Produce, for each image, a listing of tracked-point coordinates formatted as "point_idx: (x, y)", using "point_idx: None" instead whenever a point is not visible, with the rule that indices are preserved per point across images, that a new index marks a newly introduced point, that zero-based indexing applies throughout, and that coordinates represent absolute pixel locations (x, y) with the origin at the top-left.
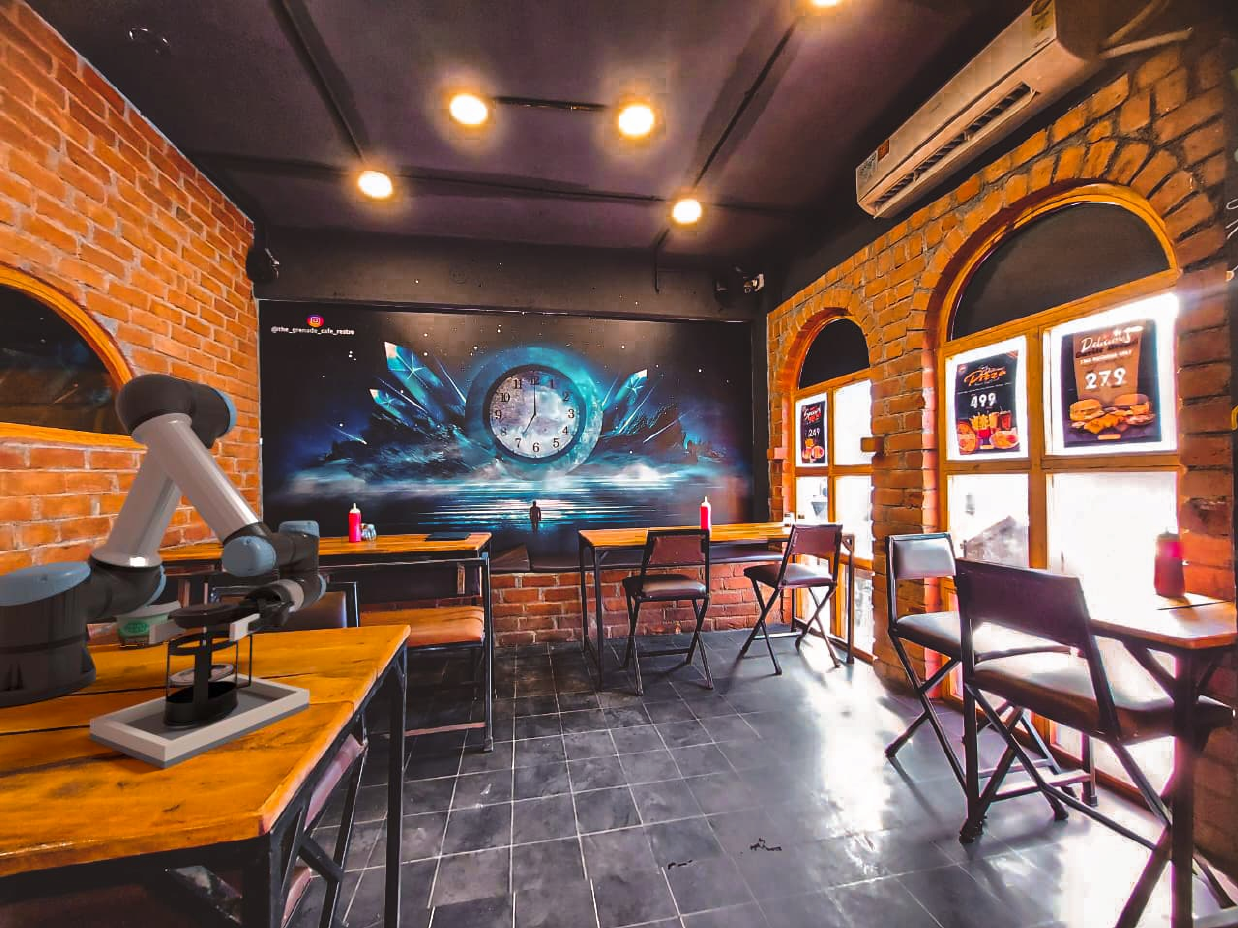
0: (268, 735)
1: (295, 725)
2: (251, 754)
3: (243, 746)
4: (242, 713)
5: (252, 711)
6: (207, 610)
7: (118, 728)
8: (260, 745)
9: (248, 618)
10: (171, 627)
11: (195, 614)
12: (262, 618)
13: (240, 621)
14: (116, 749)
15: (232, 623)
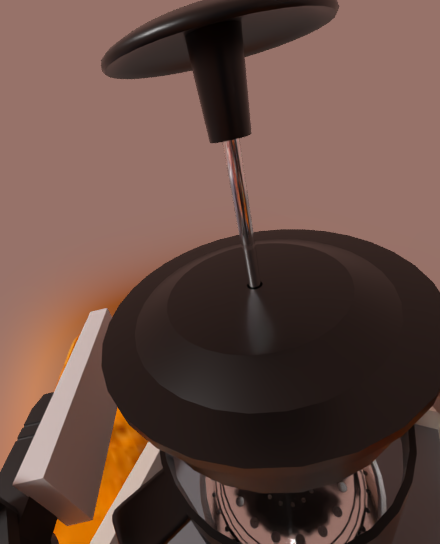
0: (110, 475)
1: (68, 530)
2: (116, 412)
3: (137, 432)
4: (153, 462)
5: (136, 475)
6: (192, 264)
7: None
8: (112, 438)
9: (62, 376)
10: None
11: (212, 248)
12: (10, 474)
13: (82, 335)
14: None
15: (102, 313)
